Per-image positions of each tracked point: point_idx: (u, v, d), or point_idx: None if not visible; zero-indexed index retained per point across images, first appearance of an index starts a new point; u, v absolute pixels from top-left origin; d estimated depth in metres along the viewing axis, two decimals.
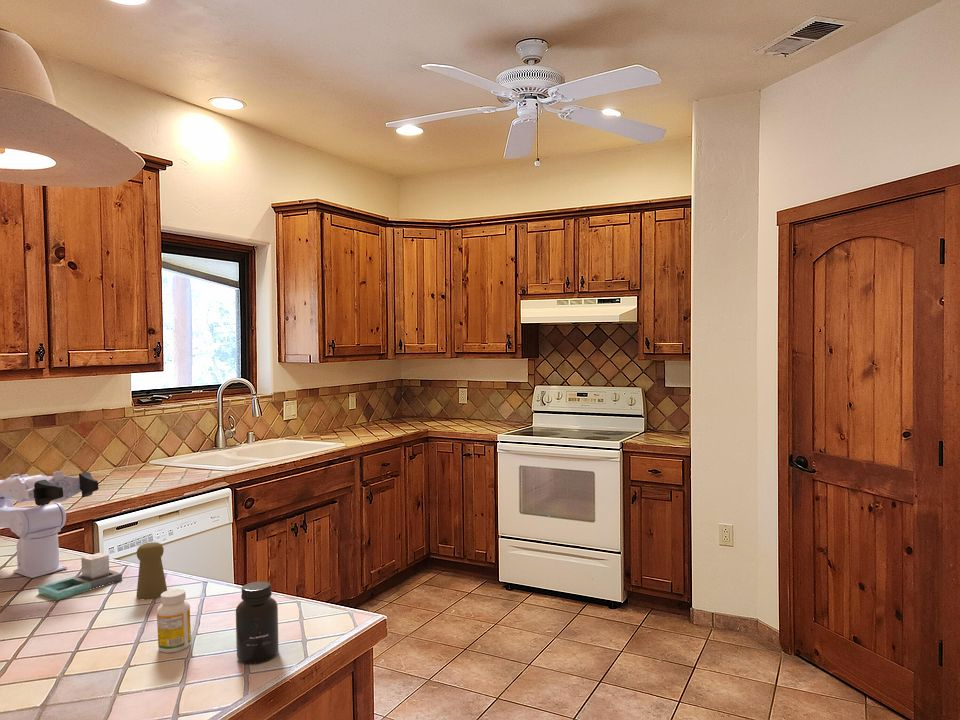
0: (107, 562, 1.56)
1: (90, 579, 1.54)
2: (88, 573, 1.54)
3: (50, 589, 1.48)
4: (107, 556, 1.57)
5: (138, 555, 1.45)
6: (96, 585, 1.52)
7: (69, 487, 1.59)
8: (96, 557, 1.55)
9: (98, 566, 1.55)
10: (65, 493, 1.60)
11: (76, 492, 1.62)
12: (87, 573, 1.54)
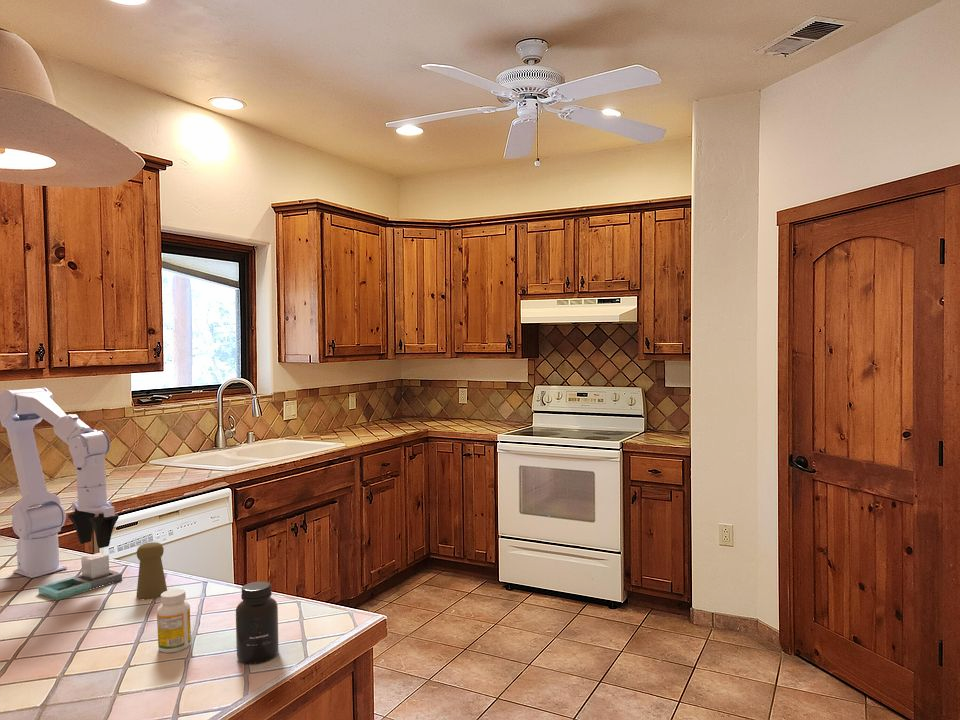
0: (107, 562, 1.56)
1: (90, 579, 1.54)
2: (88, 573, 1.54)
3: (50, 589, 1.48)
4: (107, 556, 1.57)
5: (138, 555, 1.45)
6: (96, 585, 1.52)
7: None
8: (96, 557, 1.55)
9: (98, 566, 1.55)
10: None
11: None
12: (87, 573, 1.54)
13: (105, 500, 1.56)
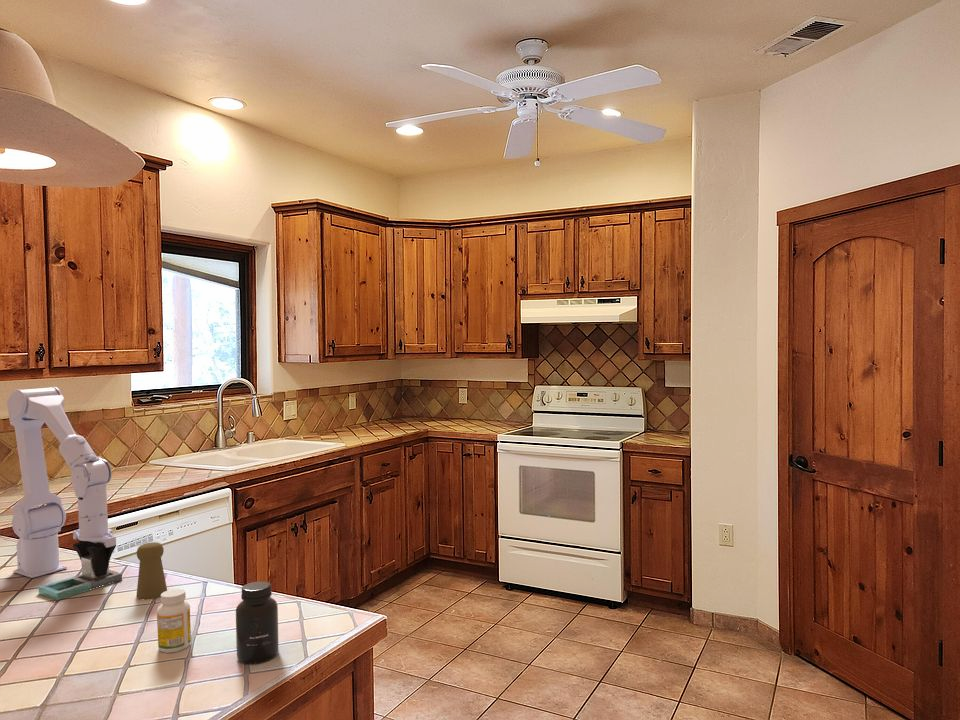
0: None
1: (90, 579, 1.54)
2: (88, 573, 1.54)
3: (50, 589, 1.48)
4: None
5: (138, 555, 1.45)
6: (96, 585, 1.52)
7: None
8: None
9: None
10: None
11: None
12: (87, 573, 1.54)
13: (107, 529, 1.56)
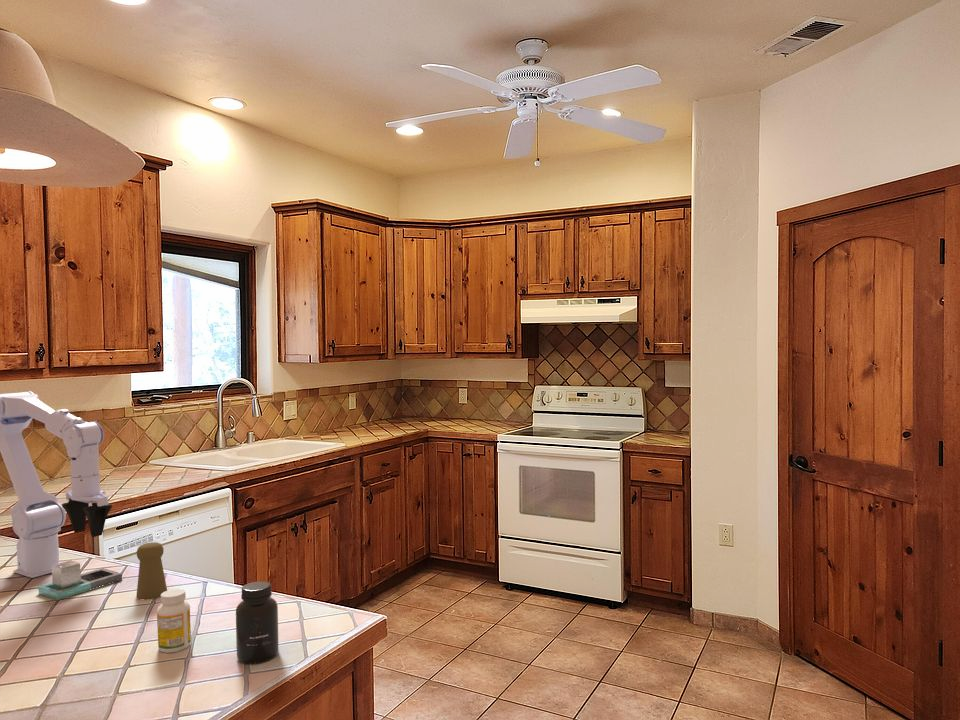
0: (78, 570, 1.51)
1: (60, 588, 1.48)
2: (58, 581, 1.49)
3: (50, 589, 1.48)
4: (78, 564, 1.51)
5: (138, 555, 1.45)
6: (96, 585, 1.52)
7: None
8: (67, 565, 1.50)
9: (68, 574, 1.49)
10: None
11: None
12: (58, 582, 1.49)
13: (99, 490, 1.59)
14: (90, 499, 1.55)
